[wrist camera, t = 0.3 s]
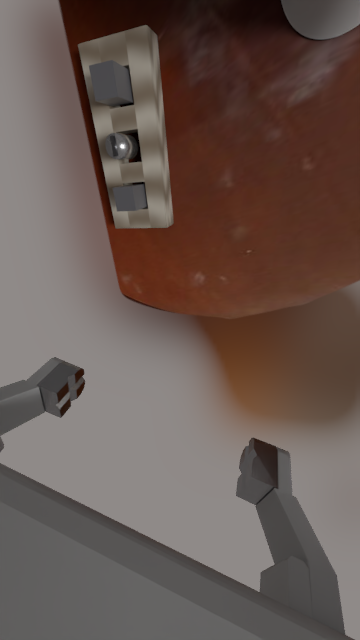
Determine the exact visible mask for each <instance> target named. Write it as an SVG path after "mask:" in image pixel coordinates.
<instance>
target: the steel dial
mask: <svg viewBox="0 0 360 640" xmlns="http://www.w3.org/2000/svg"><path fill="white" fill-rule="evenodd" d="M105 145H106V150H107V153H108V154H109V156H110V157H112V158H113V159H133V158H135V157H136V155H137V153H138V144H137V141H136V139H135V138H134V137H133V136H131V135H125V134H118V133H111V134H109V135H108V136H107V138H106V143H105Z"/></svg>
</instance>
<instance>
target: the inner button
mask: <svg viewBox="0 0 360 640" xmlns="http://www.w3.org/2000/svg"><path fill="white" fill-rule="evenodd" d="M89 70H90V75H91V80H92V85H93V90H94V95H95V100H96V101H97V102H100V103H103V104H107V105H110V106H117V105H122V104H128V103H133V97H132V90H131V83H130V75H129V69H127V68H125V67H124V66H122V65H120V64H118V63H117V62H115V61H113V60H109V61H105V62H101V63H97V64H93V65H89Z"/></svg>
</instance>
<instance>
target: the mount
mask: <svg viewBox="0 0 360 640" xmlns="http://www.w3.org/2000/svg"><path fill="white" fill-rule="evenodd" d="M78 48H79V53H80V57H81V62H82V67H83V72H84V77H85V82H86V87H87V92H88V96H89V101H90V106H91V111H92V116H93V121H94V126H95V130H96V135H97V140H98V145H99V150H100V155H101V160H102V165H103V169H104V174H105V179H106V184H107V189H108V194H109V199H110V204H111V208H112V213H113V218H114V223H115V228H167V227H169V226H170V225H172V224H173V212H172V200H171V189H170V177H169V166H168V154H167V143H166V131H165V120H164V108H163V97H162V85H161V74H160V62H159V51H158V39H157V35H156V34H155V33H154V32H153V31H152V30H151V29H150V28H149V27H148V26H147V25H144V26H140V27H137V28H133V29H130V30H126V31H123V32H119V33H116V34H112V35H109V36H105V37H102V38H98V39H95V40H91V41H88V42H84V43H80V44H78ZM109 60H113V61H115V62H117V63H118V64H120V65H122V66H124V67H125V68H127V69H129V74H130V76H131V83H132V91H133V98H134V105H130V106H125V107H120V105H117V106H110V105H107V104H103V103H100V102H97V101H96V100H95V95H94V90H93V85H92V80H91V75H90V70H89V65H93V64H97V63H101V62H105V61H109ZM135 132H138V136H139V143H140V150H141V158H142V162H134V163H129V160H128V159H113V158H112V157H110V156H109V154H108V153H107V150H106V145H105V143H106V138H107V136H108V135H109V134H111V133H118V134H128V133H135ZM133 182H145V188H146V195H147V203H148V206H147V207H145V208H142V209H140V210H137V211H118V212H117V208H116V203H115V198H114V192H113V188H114V187H119V186H125V185H132V183H133Z"/></svg>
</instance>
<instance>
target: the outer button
mask: <svg viewBox="0 0 360 640" xmlns="http://www.w3.org/2000/svg"><path fill="white" fill-rule="evenodd" d="M113 192H114V198H115V203H116V208H117V212H118V211H137V210H140V209H142V208H145V207H147V201H146V194H145V186H144V184H137V185H125V186H119V187H114V188H113Z"/></svg>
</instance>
